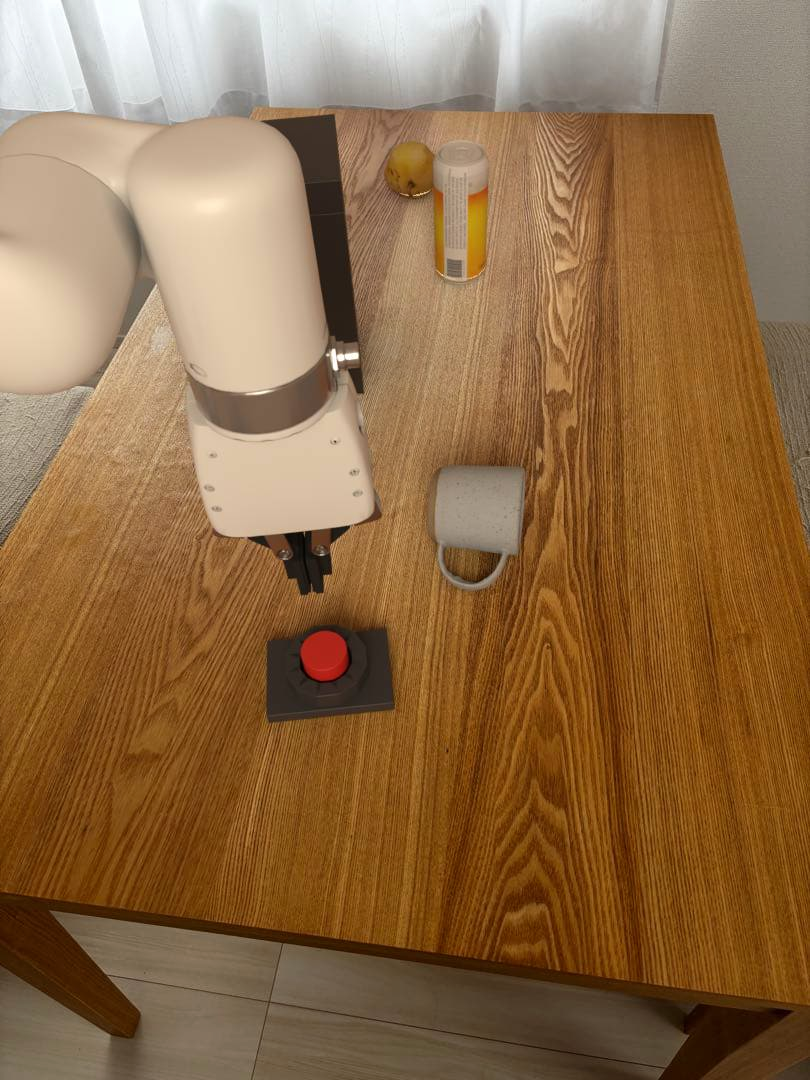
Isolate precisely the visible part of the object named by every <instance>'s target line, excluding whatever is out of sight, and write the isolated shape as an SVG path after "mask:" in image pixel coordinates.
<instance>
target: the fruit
mask: <svg viewBox="0 0 810 1080" xmlns="http://www.w3.org/2000/svg"><path fill="white" fill-rule="evenodd" d="M435 156H436V154H435V153H434V152H433V151H432V150H431V149H430V148H429V146H428V145H427V144H425V143H423V142H418V141H406V142H402V143H400V144H397V146H395V147H394V148H393V150H392V151H391V152H390V155H389V158H388V160H387V163H386V164H385V166H384V167H385V168H384V170H383V177H384V179H385V182H386V184H387V186H388V187H389V188H390V189H391V190H392V191H394V192H395V193H397V192H398V193H397V194H399V193H403V194H408V195H409V196H405V195H401V194H399V195H400V196H402V197H403V198H408V199H421V198H423V197H425V196H427V195H428V194H429V193H430V192H428V193H426V194H423V195H420V196H413V195H416V194H420V193H424V192H427V191H429V190H430V189H432V188H433V160H434V158H435ZM432 190H433V189H432Z"/></svg>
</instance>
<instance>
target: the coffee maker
mask: <svg viewBox="0 0 810 1080" xmlns="http://www.w3.org/2000/svg"><path fill="white" fill-rule="evenodd" d="M260 121H261V122H263V123H265V124H268V125H270V126H272V127H274V128H275V129H277V130H278V131H279V132H280V133H281V134H282V135H284V136H285V137H286V138H287V139H288V141H289V142H290V144H291V145H292V147H293V149H294V150H295V152H296V154H297V156H298V158H299V161H300V164H301V169H302V174H303V178H304V183H305V190H306V196H307V203H308V209H309V215H310V222H311V228H312V235H313V241H314V247H315V254H316V260H317V267H318V273H319V279H320V286H321V292H322V298H323V304H324V310H325V316H326V322H327V323H328V329H329V335H330V336H335V340H336V341H343V342H344V343H351V342H358V349H359V358H360V367H359V368H350V369H347V370H348V372H349V374H350V377H351V379H352V381H353V384H354V387H355V389H356V392H357V395H361V394H365V389H364V378H363V369H362V368H363V367H362V357H361V347H360V337H359V336H360V335H359V328H358V317H357V307H356V300H355V299H356V297H355V290H354V281H353V280H354V279H353V271H352V260H351V254H350V253H351V251H350V244H349V243H350V242H349V234H348V233H349V232H348V224H347V216H346V215H347V213H346V207H345V196H344V188H343V186H344V185H343V177H342V170H341V158H340V151H339V140H338V132H337V124H336V115H335V113H329V114H319V115H309V116H308V115H307V116H296V117H285V118H274V119H263V120H260Z"/></svg>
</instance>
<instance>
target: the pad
mask: <svg viewBox="0 0 810 1080" xmlns="http://www.w3.org/2000/svg"><path fill="white" fill-rule="evenodd" d="M320 631H331V632H334V633H337V634H338V635H340V636H341V637H342V638H343V639H344V641H345V643H346V646H347V651H348V657H349V663H348V666H347V669H346V670H345V672H344V673H343V674H342V675H341V676H339V677H338V678H336V679H334V680H331V681H318V680H315V679H313V678H312V677H310V676H309V675H308V674H307V673H306V671H305V669H304V665H303V661H302V658H301V648H302V645H303V643H304V641H305V640H306V639H307V638H308V637H309V636H311V635H312V634H314V633H317V632H320ZM388 639H389V637H388V630H387V628H377V629H367V630H358V631H354V630H353V629H350V628H347V627H344V626H341V625H338V624H336V623H331V624H322V625H314V626H311V627H310V628H308V629H306V630H305V631H303V632H301V633H300V634H298V635H297V636H295V637H290V638H280V639H271V640H267V641H266V701H265V702H266V713H265V716H266V719H267V722H268V723H269V724H273V723H281V722H290V721H292V722H293V721H301V720H310V719H319V718H320V719H321V718H328V717H338V716H339V717H340V716H348V715H356V714H365V713H366V714H367V713H375V712H385V711H386V712H387V711H393V710H395V701H394V700H395V699H394V690H393V689H394V688H393V678H392V669H391V658H390V647H389V640H388Z"/></svg>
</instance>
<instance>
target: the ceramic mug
mask: <svg viewBox="0 0 810 1080" xmlns="http://www.w3.org/2000/svg"><path fill="white" fill-rule="evenodd" d="M525 488H526V470H525V468H524V467H523V466H517V465H516V466H512V465H511V466H510V465H509V466H507V465H506V466H505V465H504V466H503V465H466V464H451V465H446V466H445V465H444V466H440V467H438V468H437V469H436V470H435V471H434V472H433V474H432V475H431V480H430V484H429V492H428V502H427V531H428V536H429V538H430V539H431V540H432V541H433V543H435V544H437V545H438V548H437V560H438V565H439V566H438V567H439V569H440V573H442V575H443V577H444V578H445V580H447V581H448V583H450V584H451V585H453V586H454V587H456V588H458V589H461V590H465V591H480V590H484V589H486V588H488V587H490V586H491V585H492V584H493V583H495V582H496V581H497V580H498V578H499V577H500V576H501V574H502V572H503V570H504V568H505V565H506V563H507V560H508V557H509V556H517V555H518V554H519V552H520V544H521V540H522V530H523V522H524V509H525V494H526V493H525V492H526V489H525ZM446 548H455V549H465V550H474V551H481V552H484V553H493V554H500V555H501V558H500V560H499V562H498V563H497V565H496V567H495V569H494V570H493V571H492V573H491V574H489V575H488V576H487V577H485V578H483V580H481V581H479V582H473V581H468V580H465V579H463V578H461V577H460V576H459V575H454V574H453V573H452V572H450V571H448V569H447V567H446V566H445V565H446V564H445V558H444V557H445V556H444V554H445V549H446Z"/></svg>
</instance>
